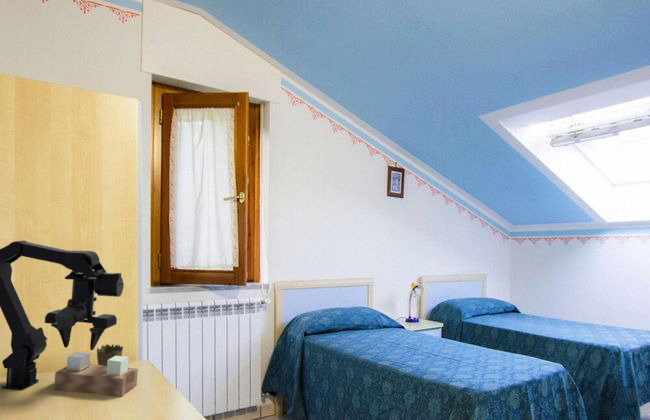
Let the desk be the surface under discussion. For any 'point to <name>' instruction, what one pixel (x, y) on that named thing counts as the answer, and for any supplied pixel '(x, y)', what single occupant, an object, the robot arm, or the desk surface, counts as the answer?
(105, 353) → the cup
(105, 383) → the walnut bar
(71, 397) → the desk surface
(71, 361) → the steel peg
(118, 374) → the sage peg
